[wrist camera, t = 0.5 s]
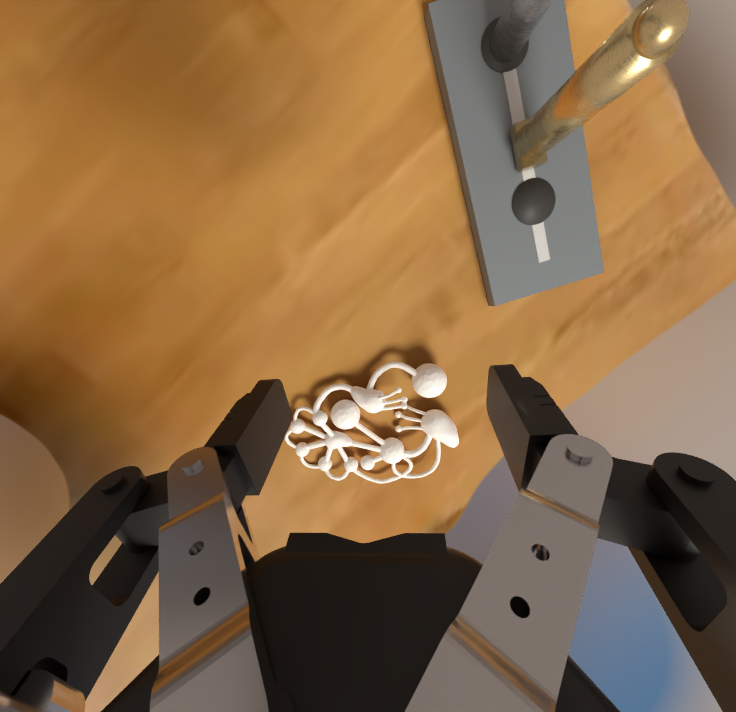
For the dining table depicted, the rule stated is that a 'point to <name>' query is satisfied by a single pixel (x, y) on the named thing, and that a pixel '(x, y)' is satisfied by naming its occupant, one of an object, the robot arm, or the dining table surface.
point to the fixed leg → (516, 27)
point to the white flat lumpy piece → (346, 416)
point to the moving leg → (602, 78)
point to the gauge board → (496, 155)
